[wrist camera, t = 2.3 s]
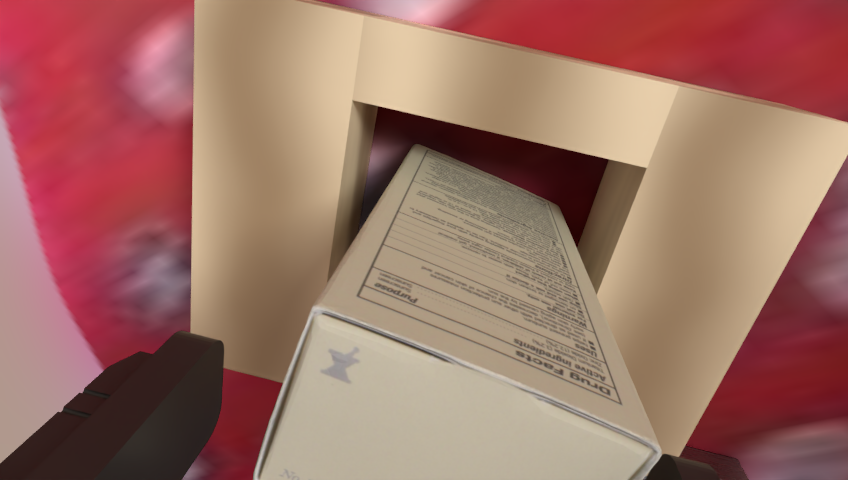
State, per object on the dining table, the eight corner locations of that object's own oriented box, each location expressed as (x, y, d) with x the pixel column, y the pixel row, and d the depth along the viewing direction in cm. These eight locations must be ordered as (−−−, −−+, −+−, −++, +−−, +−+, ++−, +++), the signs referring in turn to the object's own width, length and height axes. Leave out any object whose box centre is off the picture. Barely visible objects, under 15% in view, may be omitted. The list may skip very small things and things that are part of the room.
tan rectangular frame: (783, 104, 17) (862, 126, 13) (637, 405, 22) (665, 480, 18) (258, -13, 17) (194, -22, 14) (239, 305, 23) (190, 359, 19)
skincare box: (375, 235, 21) (231, 484, 9) (416, 134, 19) (298, 295, 8) (517, 296, 21) (540, 609, 10) (571, 203, 19) (676, 456, 8)
